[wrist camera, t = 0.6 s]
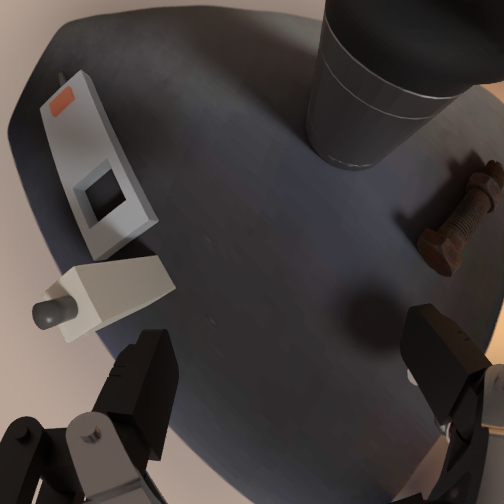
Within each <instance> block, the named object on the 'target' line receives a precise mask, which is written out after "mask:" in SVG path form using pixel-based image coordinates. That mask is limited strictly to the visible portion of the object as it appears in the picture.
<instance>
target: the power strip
mask: <svg viewBox="0 0 504 504" xmlns="http://www.w3.org/2000/svg"><path fill="white" fill-rule="evenodd" d="M57 76H58V80H59V83H60V86H61V88H60V89H59V90H58V91H57V92H56V93H55V94H54V95H53V96H52V97H51V98H50V99H49V100H48V101H47V102H46V103H45V104H44V105H43V106H42V107H41V108H40V111H41V116H42V120H43V123H44V127H45V131H46V135H47V138H48V142H49V145H50V148H51V152H52V155H53V158H54V161H55V164H56V168H57V171H58V174H59V176H60V179H61V182H62V185H63V188H64V191H65V193H66V196H67V199H68V201H69V204H70V206H71V209H72V211H73V214H74V216H75V219H76V221H77V224H78V226H79V228H80V231H81V233H82V235H83V238H84V240H85V242H86V244H87V247H88V249H89V251H90V253H91V255H92V257H93V260H94V261H98V260H106V259H108V258H109V257H110V256H111V255H113V254H114V253H116V252H117V251H118V250H120V249H121V248H122V247H124V246H125V245H126V244H128V243H129V242H130V241H132V240H133V239H135V238H136V237H137V236H139V235H140V234H142V233H143V232H144V231H146V230H147V229H149V228H150V227H151V226H153V225H154V224H156V223H157V222H159V220H158V219H157V217H156V215H155V213H154V211H153V209H152V207H151V205H150V203H149V201H148V200H147V198H146V196H145V194H144V192H143V190H142V188H141V186H140V184H139V182H138V180H137V178H136V176H135V174H134V172H133V170H132V168H131V166H130V164H129V162H128V160H127V158H126V155H125V153H124V151H123V149H122V147H121V145H120V143H119V141H118V139H117V136H116V134H115V132H114V130H113V128H112V126H111V123H110V121H109V119H108V117H107V114H106V112H105V110H104V108H103V105H102V103H101V101H100V98H99V96H98V94H97V91H96V89H95V87H94V84H93V82H92V79H91V77H90V76H89V75H87V74H86V73H85V72H83V71H82V70H80V71H79V72H78V73H77V74H75V75H74V76H73V77H72V78H71V79H70V80H69V81H67V79H66V76H65V72H64V71H61V72H59V73H58V75H57ZM111 168H112V170H113V172H114V175H115V177H116V179H117V181H118V183H119V185H120V187H121V190H122V192H123V194H124V196H125V198H126V201H124V202H123V203H122V204H121V205H119V206H118V207H117V208H115V209H114V210H113V211H112V212H110V213H109V214H108V215H107V216H105V217H104V218H103V219H102V220H100V221H99V222H98V221H97V218H96V216H95V214H94V212H93V209H92V207H91V205H90V202H89V200H88V198H87V195H86V193H85V190H86V189H88V188H89V187H90V186H91V185H92V184H93V183H94V182H96V181H97V180H98V179H99V178H100V177H102V176H103V175H104V174H105V173H106V172H108V171H109V170H110V169H111Z"/></svg>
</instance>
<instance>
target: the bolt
mask: <svg viewBox="0 0 504 504" xmlns="http://www.w3.org/2000/svg"><path fill="white" fill-rule="evenodd" d="M503 186H504V169H503V166H502V164H501V163H499V162H497V161H496V163H495V161H494V160H491V161H489V162H488V163H487V165H486V166H485V168H484V169H483V171H482V172H481V173H473V174H472V176H471V177H470V178H469V181H468V183H467V185H466V189H465V190H466V195H465V196H464V198H463V200H462V201H461V202H460V204H459V205H458V206H457V207H456V209H455V210H454V211H453V213H452V214H451V215H450V217H449V218H448V219H447V221H446V222H445V223H444V224H443V225H442V226H441V227H440V228H439V229H438V230H437V232H435V231H433V230H431V229H429V228H426V229H425V230H424V231H423V233H422V234H421V235H420V237H419V239H418V241H417V248H418V251H419V253H420V255H421V256H422V257H423V259H424V260H425V261H426V262H427V263H428V265H429V266H430V267H431V268H433V269H434V270H435V271H436V272H437V273H438V274H440V275H442V276H445V277H452V276H453V274H454V273H455V272H456V271H457V269H458V268H459V266H460V265H461V263H462V262H463V259H462V258H461V256H460V255H459V254H460V252H461V251H462V249H463V247H464V245H465V244H466V242H467V241H468V240H469V238H470V237H471V236H472V234H473V233H474V231H475V230H476V229H477V227H478V225H479V224H480V223H481V221H482V219H483V218H484V217H485V215H486V213H493V212H494V210H495V209H496V207H497V206H498V204H499V202H500V200H501V198H502V193H501V189H502V188H503Z"/></svg>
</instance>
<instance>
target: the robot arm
mask: <svg viewBox="0 0 504 504" xmlns="http://www.w3.org/2000/svg"><path fill="white" fill-rule="evenodd" d="M501 81H504V0H326V2H325V10H324V16H323V23H322V29H321V35H320V43H319V49H318V55H317V61H316V67H315V72H314V78H313V84H312V89H311V95H310V100H309V105H308V111H307V116H306V124H305V125H306V134H307V137H308V140H309V142H310V144H311V146H312V147H313V149H314V150H315V151H316V153H317V154H318V155H319V156H320V157H321V158H322V159H324V160H325V161H326V162H327V163H329V164H331V165H333V166H335V167H338V168H341V169H344V170H352V171H357V170H364V169H367V168H370V167H372V166H374V165H375V164H377V163H378V162H380V161H381V160H382V159H383V158H385V157H386V156H387V155H388V154H390V153H391V152H392V151H394V150H395V149H396V148H397V147H398V146H400V145H401V144H402V143H403V142H405V141H406V140H407V139H408V138H409V137H411V136H412V135H413V134H414V133H416V132H417V131H418V130H419V129H420V128H422V127H423V126H424V125H425V124H427V123H428V122H429V121H430V120H431V119H433V118H434V117H435V116H436V115H437V114H439V113H440V112H441V111H442V110H443V109H445V108H446V107H447V106H448V105H449V104H451V103H452V102H453V101H454V100H455V99H457V98H458V97H459V96H460V95H461V94H463V93H464V92H465V91H467V90H468V89H469V88H470V87H472V86H473V85H479V84H491V83H497V82H501ZM400 351H401V356H402V359H403V361H404V362H405V364H406V366H407V367H408V369H409V371H410V372H411V374H412V376H413V378H414V379H415V381H416V383H417V385H418V386H419V388H420V390H421V392H422V393H423V395H424V397H425V399H426V400H427V402H428V404H429V406H430V408H431V410H432V411H433V413H434V415H435V417H436V419H437V421H438V423H439V424H440V426H443V425H446V424H448V423H451V422H453V423H454V424H455V427H454V428H453V430H452V433H451V438H450V442H449V446H448V450H447V454H446V458H445V461H444V465H443V468H442V471H441V475H440V478H439V480H438V482H437V483H436V485H435V487H434V488H433V490H432V492H431V493H430V495H429V497H428V499H427V500H423V497H422V494H421V493H418V494H415V495H413V496H410V497H407V498H404V499H401V500H398V501H395V502H392V503H389V504H504V365H503V364H496V365H492V364H491V362H490V361H489V360H488V359H487V358H486V356H485V355H484V354H483V353H482V352H481V350H480V349H479V348H478V347H477V346H476V345H475V343H474V342H473V341H472V340H470V339H469V337H468V336H467V334H466V333H465V332H464V333H463V330H462V329H461V328H460V327H459V326H458V324H457V323H456V322H455V321H453V320H451V319H450V318H448V317H446V316H444V315H442V314H441V313H440V312H439V311H438V310H437V309H436V308H435V307H434V306H433V305H432V304H430V303H429V304H423V305H418V306H412V307H410V308H409V310H408V313H407V317H406V322H405V326H404V331H403V335H402V339H401V343H400ZM178 380H179V369H178V364H177V360H176V357H175V354H174V350H173V347H172V343H171V340H170V336H169V333H168V331H167V330H166V329H144V330H143V331H142V332H141V334H140V336H139V338H138V341H137V343H136V344H129V345H128V346H127V347H126V348H125V349H124V350H123V351H122V352H121V353H120V354H119V355H118V357H117V359H116V361H115V363H114V368H112V369H111V371H110V373H109V377H107V380H106V382H105V384H104V386H103V388H102V390H101V392H100V394H99V396H98V398H97V401H96V403H95V405H94V407H93V410H92V411H91V412H86V413H83V414H81V415H79V416H77V417H76V418H75V419H73V420H72V421H71V422H70V424H69V425H68V427H67V428H54V429H44V428H43V427H42V425H41V424H40V423H39V422H38V421H37V420H36V419H35V418H33V417H27V416H25V417H21V418H18V419H16V420H15V421H13V422H12V423H11V424H10V426H9V427H8V428H7V430H6V432H5V434H4V436H3V438H2V440H1V442H0V504H31V503H32V500H33V497H34V494H35V490H36V488H37V485H38V482H39V479H40V478H41V479H42V480H43V481H42V484H41V488H40V491H39V494H38V497H37V500H36V503H35V504H168V503H167V502H166V500H165V499H164V497H163V496H162V494H161V493H160V492H159V490H158V488H157V487H156V485H155V483H154V482H153V480H152V479H151V477H150V476H149V474H148V472H147V471H146V467H147V463H148V460H155V461H160V460H161V456H162V452H163V447H164V442H165V438H166V433H167V428H168V424H169V420H170V415H171V411H172V406H173V402H174V398H175V394H176V389H177V385H178ZM85 496H86V501H84V497H85Z"/></svg>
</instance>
